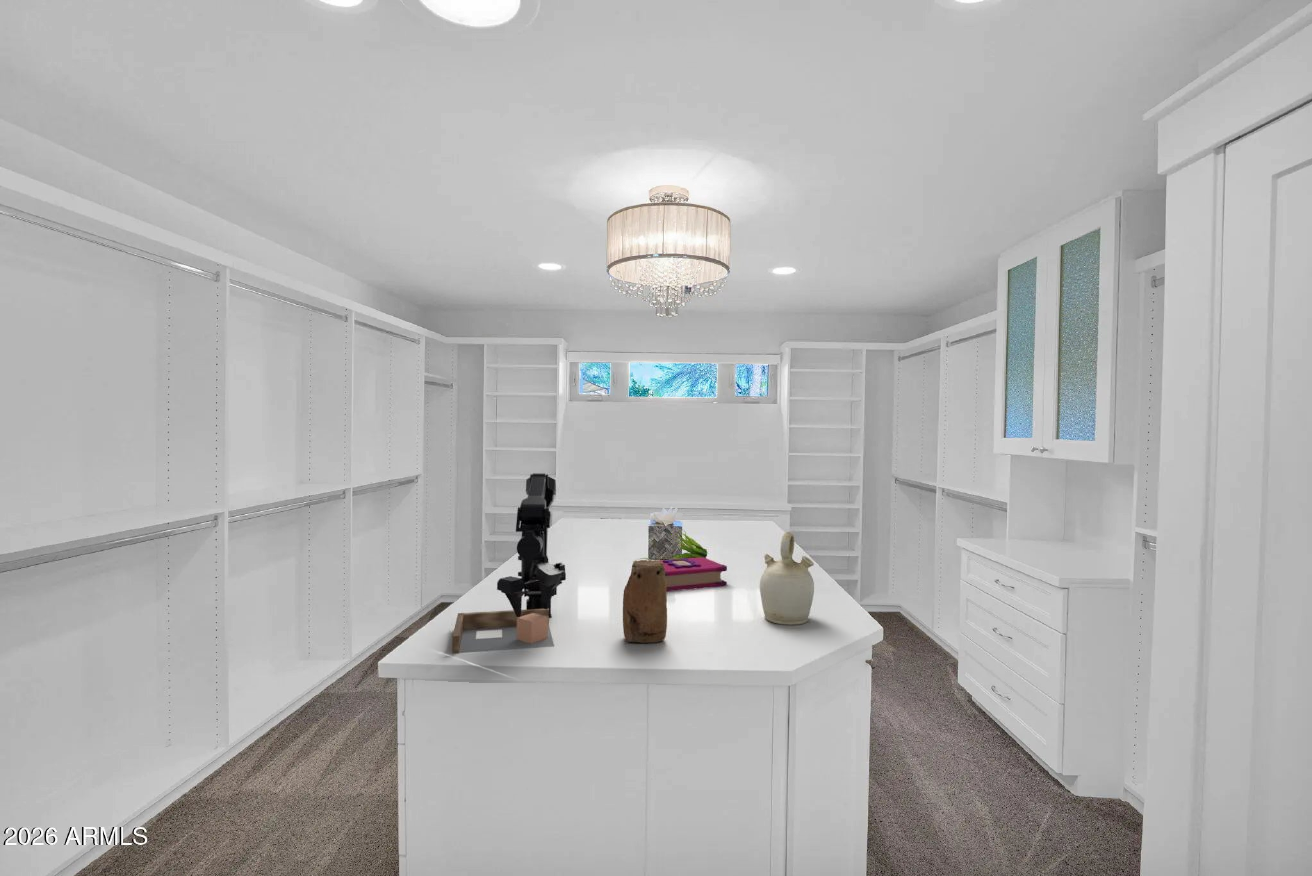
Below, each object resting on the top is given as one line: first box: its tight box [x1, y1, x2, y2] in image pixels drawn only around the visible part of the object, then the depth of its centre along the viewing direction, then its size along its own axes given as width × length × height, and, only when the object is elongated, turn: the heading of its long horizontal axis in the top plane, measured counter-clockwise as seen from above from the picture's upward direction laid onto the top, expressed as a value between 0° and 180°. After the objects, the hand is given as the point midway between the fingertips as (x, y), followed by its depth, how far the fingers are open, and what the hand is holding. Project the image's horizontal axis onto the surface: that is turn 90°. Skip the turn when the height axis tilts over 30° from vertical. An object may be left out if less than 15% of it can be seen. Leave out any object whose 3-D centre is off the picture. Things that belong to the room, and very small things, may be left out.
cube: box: [517, 613, 548, 644], centre depth 164 cm, size 6×6×6 cm
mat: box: [458, 623, 555, 654], centre depth 165 cm, size 24×20×1 cm
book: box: [657, 557, 728, 592], centre depth 228 cm, size 21×28×8 cm
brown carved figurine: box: [622, 559, 668, 644], centre depth 164 cm, size 11×8×20 cm
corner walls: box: [451, 608, 550, 654], centre depth 165 cm, size 24×20×4 cm
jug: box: [759, 531, 815, 626], centre depth 184 cm, size 15×16×25 cm
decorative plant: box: [632, 527, 708, 563], centre depth 263 cm, size 18×30×15 cm, turn 85°
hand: (532, 613), depth 164 cm, fingers open, 9 cm apart
